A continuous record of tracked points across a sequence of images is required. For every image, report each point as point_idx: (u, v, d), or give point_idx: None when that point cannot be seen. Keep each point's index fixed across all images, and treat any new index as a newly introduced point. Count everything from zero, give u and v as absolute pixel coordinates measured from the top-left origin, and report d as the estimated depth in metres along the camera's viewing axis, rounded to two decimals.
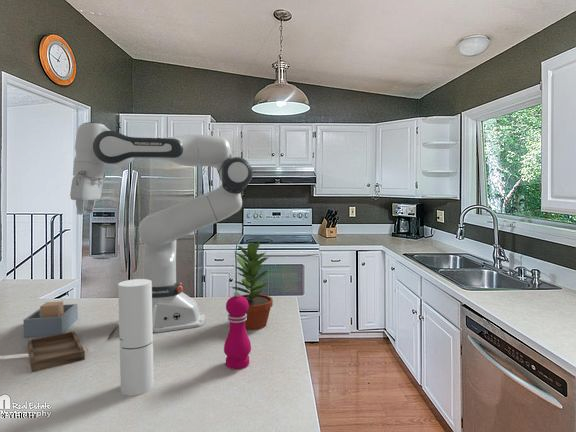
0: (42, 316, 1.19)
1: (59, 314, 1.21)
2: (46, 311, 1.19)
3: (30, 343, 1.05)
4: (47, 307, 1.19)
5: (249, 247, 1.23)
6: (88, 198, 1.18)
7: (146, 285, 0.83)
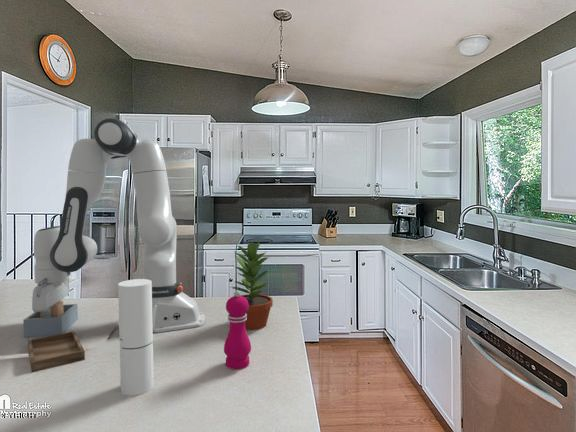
0: (42, 316, 1.19)
1: (59, 314, 1.21)
2: None
3: (30, 343, 1.05)
4: None
5: (249, 247, 1.23)
6: (52, 304, 1.18)
7: (146, 285, 0.83)
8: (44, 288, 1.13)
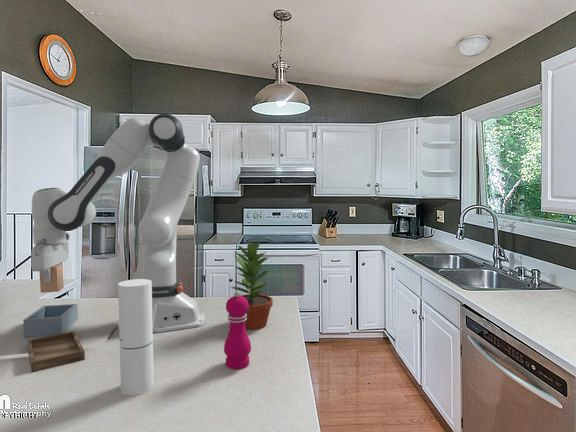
0: (41, 278, 1.18)
1: (58, 276, 1.20)
2: None
3: (30, 343, 1.05)
4: None
5: (249, 247, 1.23)
6: (52, 265, 1.17)
7: (146, 285, 0.83)
8: (43, 247, 1.12)
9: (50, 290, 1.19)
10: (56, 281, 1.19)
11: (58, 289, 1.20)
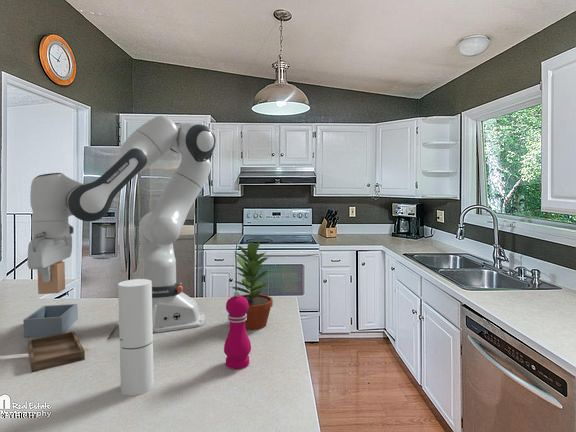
0: (39, 277, 1.02)
1: (59, 275, 1.04)
2: None
3: (30, 343, 1.05)
4: None
5: (249, 247, 1.23)
6: (52, 263, 1.01)
7: (146, 285, 0.83)
8: (42, 241, 0.96)
9: (49, 291, 1.02)
10: (56, 281, 1.02)
11: (58, 290, 1.03)
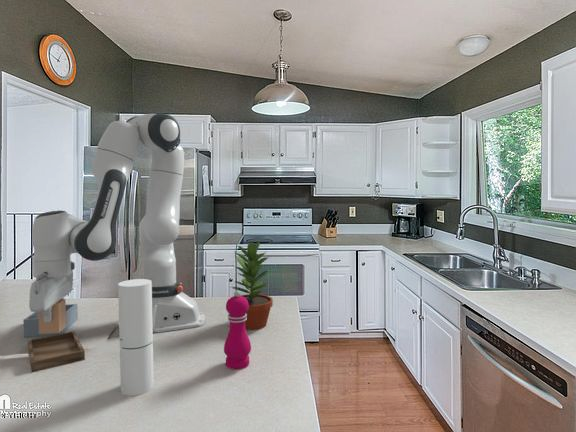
0: (40, 317, 1.00)
1: (61, 314, 1.03)
2: None
3: (30, 343, 1.05)
4: None
5: (249, 247, 1.23)
6: (53, 303, 0.99)
7: (146, 285, 0.83)
8: (44, 283, 0.95)
9: (50, 331, 1.01)
10: (58, 320, 1.01)
11: (59, 330, 1.02)
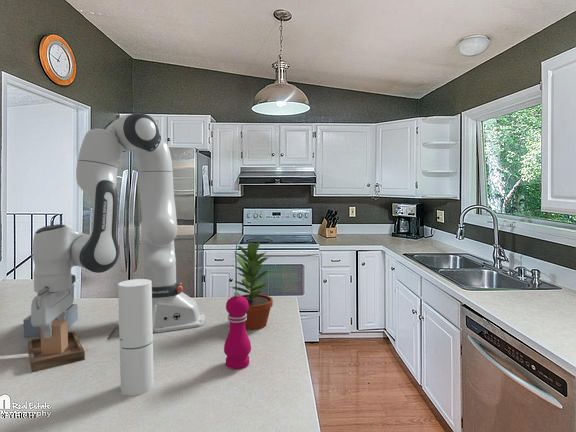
0: (43, 338, 1.01)
1: (62, 335, 1.03)
2: None
3: (30, 343, 1.05)
4: None
5: (249, 247, 1.23)
6: (55, 317, 1.00)
7: (146, 285, 0.83)
8: (45, 298, 0.95)
9: (52, 352, 1.02)
10: (60, 341, 1.02)
11: (62, 350, 1.03)
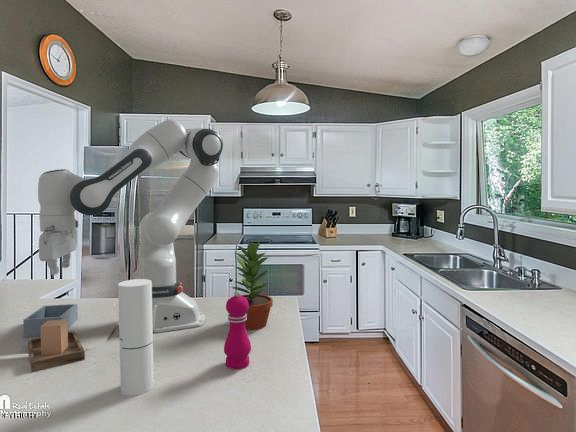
0: (43, 338, 1.01)
1: (62, 335, 1.03)
2: (48, 332, 1.01)
3: (30, 343, 1.05)
4: (48, 327, 1.01)
5: (249, 247, 1.23)
6: (61, 255, 1.06)
7: (146, 285, 0.83)
8: (52, 235, 1.01)
9: (52, 352, 1.02)
10: (60, 341, 1.02)
11: (62, 350, 1.03)
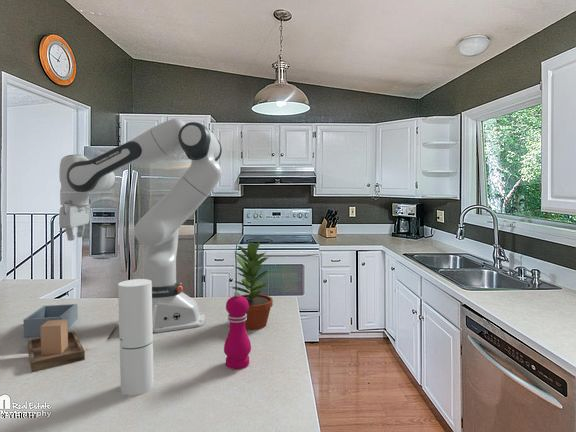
0: (43, 338, 1.01)
1: (62, 335, 1.03)
2: (48, 332, 1.01)
3: (30, 343, 1.05)
4: (48, 327, 1.01)
5: (249, 247, 1.23)
6: (76, 225, 1.29)
7: (146, 285, 0.83)
8: (70, 207, 1.24)
9: (52, 352, 1.02)
10: (60, 341, 1.02)
11: (62, 350, 1.03)
